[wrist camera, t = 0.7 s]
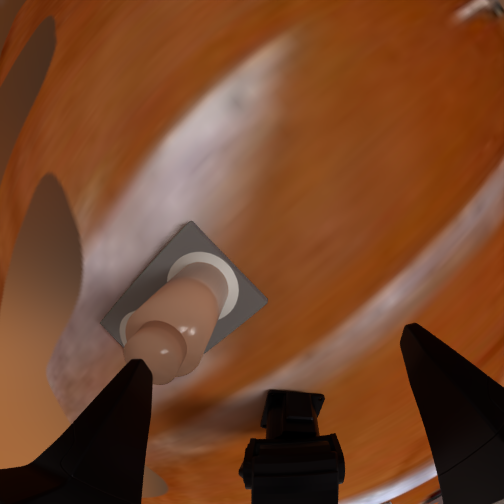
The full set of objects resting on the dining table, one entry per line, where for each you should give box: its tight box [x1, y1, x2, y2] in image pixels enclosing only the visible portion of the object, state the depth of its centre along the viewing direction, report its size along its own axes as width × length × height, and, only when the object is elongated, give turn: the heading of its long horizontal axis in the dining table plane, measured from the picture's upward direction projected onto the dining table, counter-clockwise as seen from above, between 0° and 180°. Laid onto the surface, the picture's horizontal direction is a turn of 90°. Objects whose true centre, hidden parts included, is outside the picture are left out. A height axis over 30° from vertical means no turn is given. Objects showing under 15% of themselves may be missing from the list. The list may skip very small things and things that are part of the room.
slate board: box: [100, 221, 268, 354], centre depth 27 cm, size 16×10×1 cm, turn 133°
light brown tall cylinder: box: [124, 262, 229, 385], centre depth 19 cm, size 5×5×12 cm
